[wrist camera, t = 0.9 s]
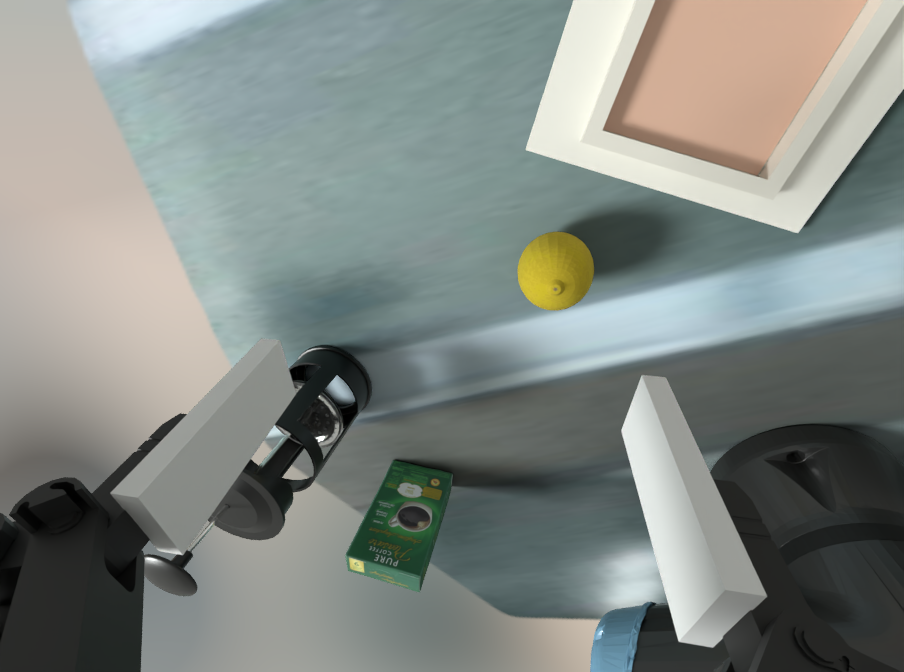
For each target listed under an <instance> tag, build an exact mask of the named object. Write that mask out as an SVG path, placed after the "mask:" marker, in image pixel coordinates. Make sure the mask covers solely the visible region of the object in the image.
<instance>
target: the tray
mask: <svg viewBox="0 0 904 672" xmlns="http://www.w3.org/2000/svg"><path fill="white" fill-rule="evenodd" d="M903 89H904V0H574V1H573V4H572V7H571V10H570V13H569V16H568V19H567V23H566V26H565V29H564V32H563V35H562V38H561V41H560V44H559V47H558V50H557V54H556V57H555V60H554V63H553V66H552V69H551V72H550V75H549V78H548V81H547V85H546V88H545V91H544V94H543V97H542V100H541V103H540V106H539V109H538V113H537V116H536V119H535V122H534V125H533V128H532V131H531V134H530V137H529V140H528V144H527V147H526V150H527V151H531V152H534V153H537V154H541V155H544V156H547V157H550V158H554V159H557V160H560V161H563V162H567V163H570V164H573V165H577V166H580V167H583V168H586V169H590V170H593V171H596V172H599V173H603V174H606V175H609V176H612V177H616V178H619V179H622V180H626V181H629V182H632V183H635V184H639V185H642V186H645V187H648V188H652V189H655V190H658V191H662V192H665V193H668V194H671V195H675V196H678V197H681V198H684V199H688V200H691V201H694V202H697V203H701V204H704V205H707V206H711V207H714V208H717V209H720V210H724V211H727V212H730V213H733V214H737V215H740V216H743V217H747V218H750V219H753V220H756V221H760V222H763V223H766V224H769V225H773V226H776V227H779V228H783V229H786V230H789V231H792V232H796V233H798V232H799V231H800V230H801V228H802V227H803V225H804V224H805V223H806V221H807V220H808V219H809V217H810V216H811V215H812V213H813V212H814V210H815V209H816V208H817V206H818V205H819V204H820V202H821V201H822V200H823V198H824V197H825V195H826V194H827V193H828V191H829V190H830V189H831V187H832V186H833V185H834V183H835V182H836V180H837V179H838V178H839V176H840V175H841V174H842V172H843V171H844V170H845V168H846V167H847V165H848V164H849V163H850V161H851V160H852V159H853V157H854V156H855V154H856V153H857V152H858V150H859V149H860V148H861V146H862V145H863V144H864V142H865V141H866V139H867V138H868V137H869V135H870V134H871V133H872V131H873V130H874V129H875V127H876V126H877V124H878V123H879V122H880V120H881V119H882V118H883V116H884V115H885V114H886V112H887V111H888V109H889V108H890V107H891V105H892V104H893V103H894V101H895V100H896V99H897V97H898V96H899V94H900V93H901V92H902V90H903Z"/></svg>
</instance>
